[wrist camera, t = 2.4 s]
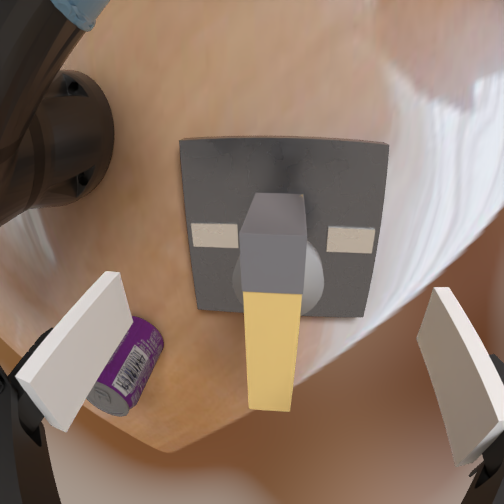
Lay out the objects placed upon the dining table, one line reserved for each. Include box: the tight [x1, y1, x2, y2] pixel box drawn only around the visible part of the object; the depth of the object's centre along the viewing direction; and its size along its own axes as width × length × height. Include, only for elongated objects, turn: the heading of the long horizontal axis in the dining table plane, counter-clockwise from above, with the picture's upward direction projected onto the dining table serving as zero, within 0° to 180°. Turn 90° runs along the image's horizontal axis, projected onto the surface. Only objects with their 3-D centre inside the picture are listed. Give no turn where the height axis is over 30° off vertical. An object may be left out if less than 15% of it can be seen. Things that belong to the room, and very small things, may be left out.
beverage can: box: [86, 316, 164, 416], centre depth 34 cm, size 7×7×12 cm
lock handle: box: [232, 193, 324, 412], centre depth 20 cm, size 6×13×8 cm, turn 1°
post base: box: [179, 136, 389, 317], centre depth 27 cm, size 18×18×7 cm
